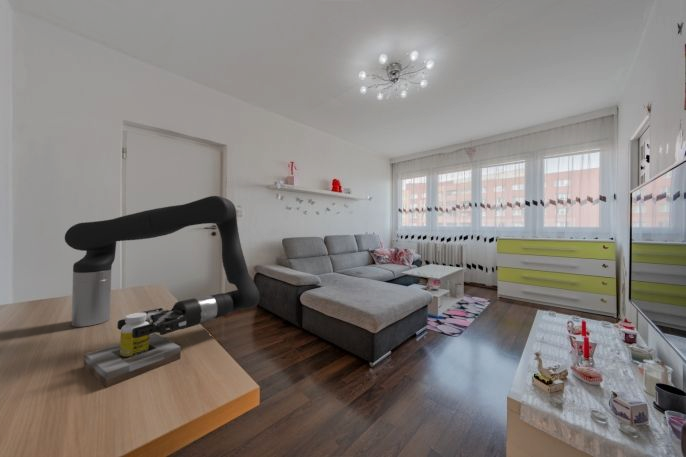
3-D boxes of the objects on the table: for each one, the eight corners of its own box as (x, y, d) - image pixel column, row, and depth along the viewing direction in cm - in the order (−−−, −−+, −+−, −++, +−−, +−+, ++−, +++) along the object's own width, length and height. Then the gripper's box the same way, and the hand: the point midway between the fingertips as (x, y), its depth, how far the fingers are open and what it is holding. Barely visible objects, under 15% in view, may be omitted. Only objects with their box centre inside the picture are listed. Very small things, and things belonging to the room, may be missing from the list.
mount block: (84, 366, 59) (84, 353, 59) (154, 344, 71) (154, 333, 71) (106, 387, 52) (106, 372, 52) (180, 358, 64) (180, 346, 64)
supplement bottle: (132, 363, 58) (133, 319, 58) (113, 360, 59) (114, 317, 59) (154, 351, 64) (155, 312, 64) (136, 349, 65) (137, 310, 65)
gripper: (182, 294, 77) (113, 307, 63) (210, 302, 70) (138, 319, 56) (182, 319, 77) (112, 338, 63) (209, 330, 70) (137, 354, 56)
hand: (125, 329), depth 60 cm, fingers open, 8 cm apart
